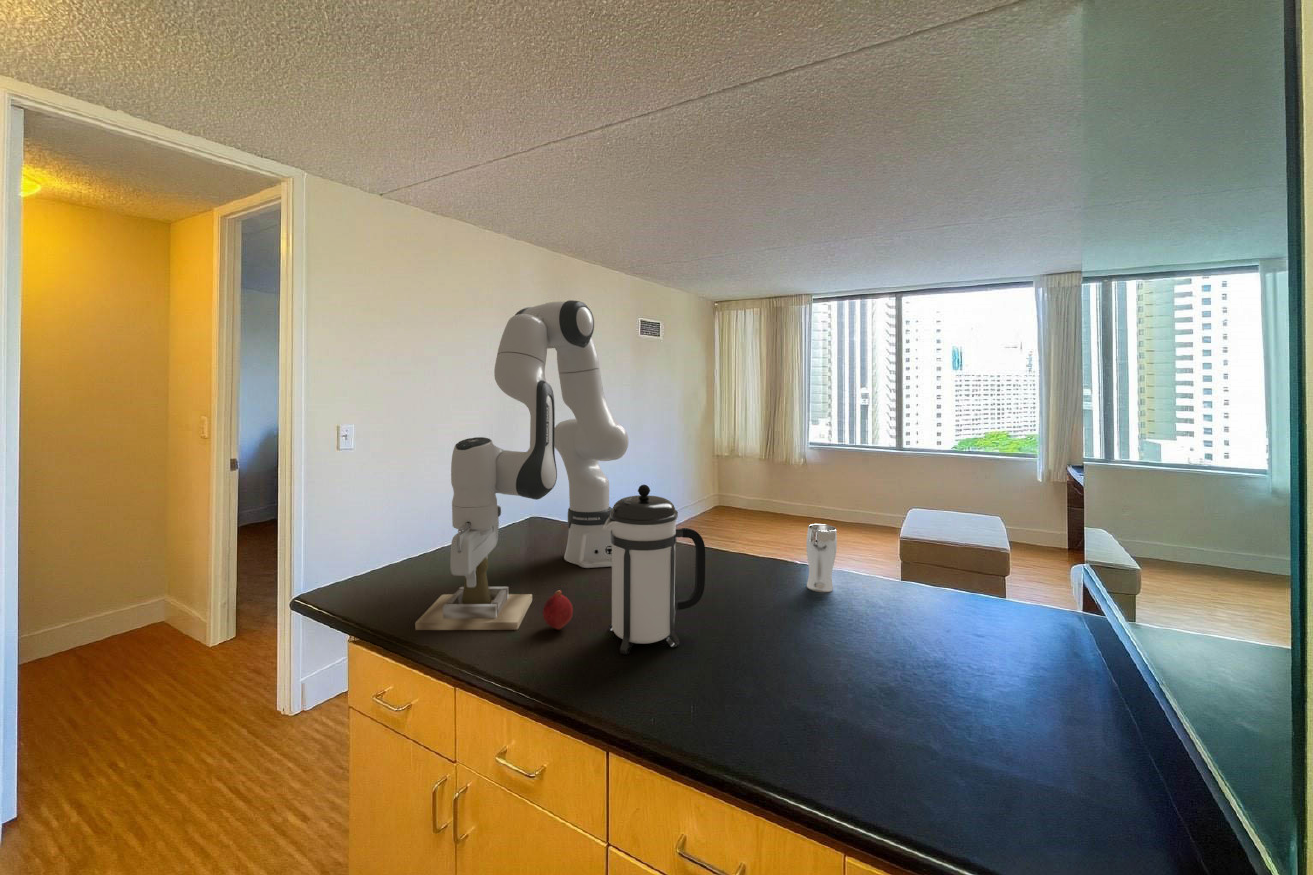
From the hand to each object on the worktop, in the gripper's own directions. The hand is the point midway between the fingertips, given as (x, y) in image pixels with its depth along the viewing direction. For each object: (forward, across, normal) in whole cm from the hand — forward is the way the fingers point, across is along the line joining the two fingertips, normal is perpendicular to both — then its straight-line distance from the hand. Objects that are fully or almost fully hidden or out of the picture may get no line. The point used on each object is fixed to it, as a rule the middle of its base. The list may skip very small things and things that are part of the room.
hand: (476, 581), depth 109 cm
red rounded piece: (+8, -7, -18) cm, 21 cm away
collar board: (+7, 0, 0) cm, 7 cm away
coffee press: (+8, -10, -36) cm, 38 cm away
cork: (+6, 0, 0) cm, 6 cm away
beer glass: (+7, +14, -78) cm, 80 cm away
